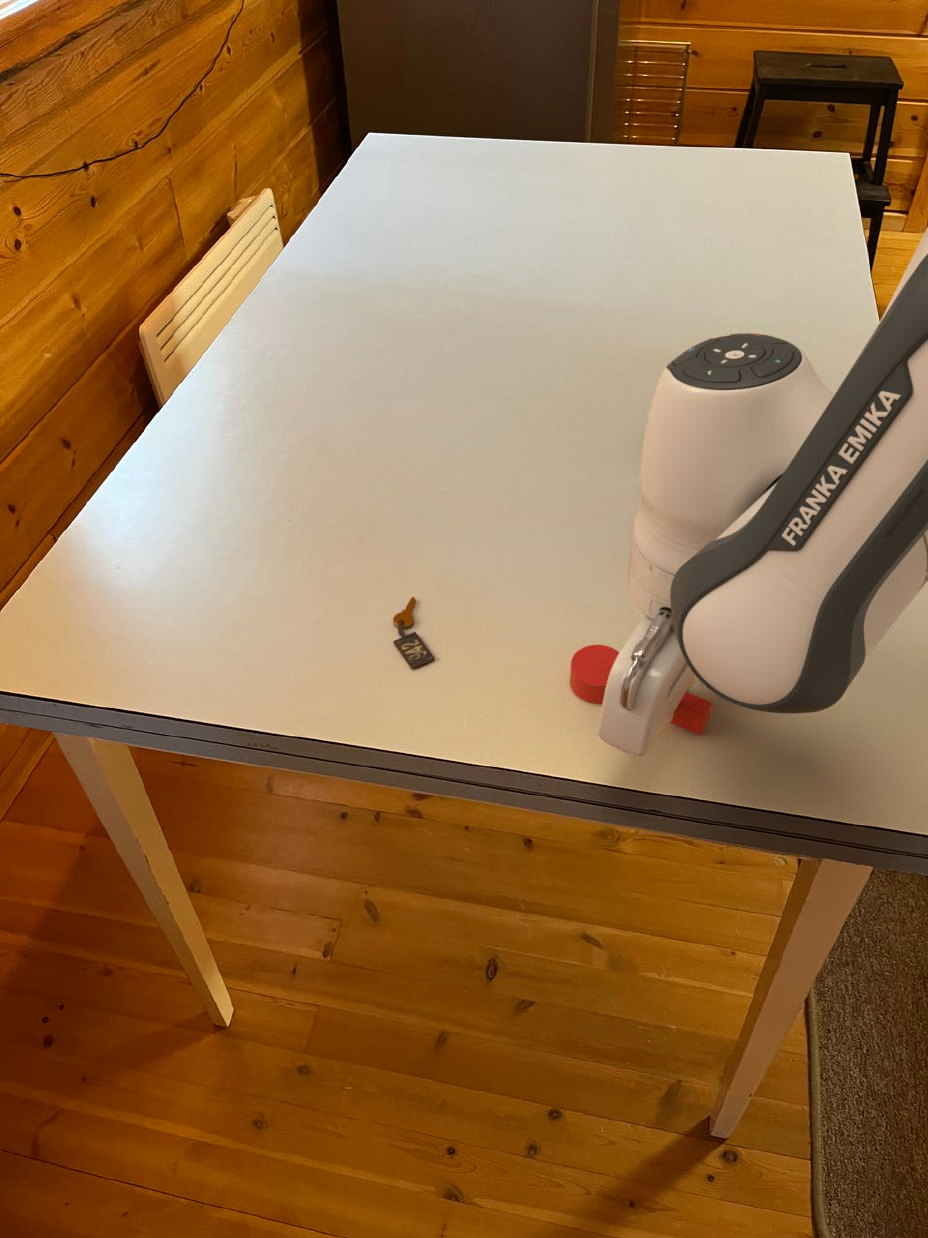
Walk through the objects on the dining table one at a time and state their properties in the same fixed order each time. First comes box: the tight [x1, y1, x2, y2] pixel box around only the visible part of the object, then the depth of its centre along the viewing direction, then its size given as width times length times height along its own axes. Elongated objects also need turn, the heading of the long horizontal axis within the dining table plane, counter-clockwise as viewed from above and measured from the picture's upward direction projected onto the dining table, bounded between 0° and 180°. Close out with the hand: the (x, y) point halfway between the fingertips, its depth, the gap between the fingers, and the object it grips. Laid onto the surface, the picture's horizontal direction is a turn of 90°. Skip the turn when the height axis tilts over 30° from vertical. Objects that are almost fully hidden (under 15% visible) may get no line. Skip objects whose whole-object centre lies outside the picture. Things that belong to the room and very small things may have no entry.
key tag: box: [392, 596, 436, 670], centre depth 80 cm, size 8×3×1 cm, turn 15°
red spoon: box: [569, 644, 713, 736], centre depth 73 cm, size 11×4×2 cm, turn 57°
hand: (670, 700), depth 72 cm, fingers closed on red spoon, 1 cm apart
